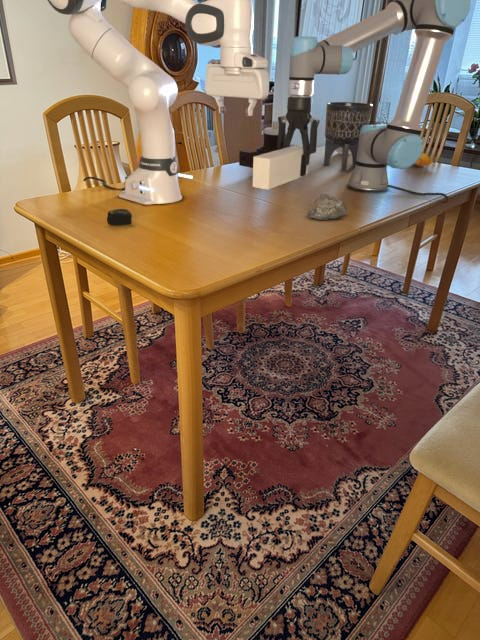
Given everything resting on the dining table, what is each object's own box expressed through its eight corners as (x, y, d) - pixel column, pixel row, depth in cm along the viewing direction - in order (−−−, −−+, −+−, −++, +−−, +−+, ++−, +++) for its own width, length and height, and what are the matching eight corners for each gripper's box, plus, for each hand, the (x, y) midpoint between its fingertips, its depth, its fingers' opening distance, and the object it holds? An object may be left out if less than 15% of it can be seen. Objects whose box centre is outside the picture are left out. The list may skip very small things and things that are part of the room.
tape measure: (107, 228, 130) (105, 215, 128) (109, 220, 136) (108, 208, 134) (131, 227, 131) (130, 214, 129) (133, 220, 137) (131, 207, 135)
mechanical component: (240, 120, 182) (283, 115, 202) (239, 174, 192) (280, 164, 212) (283, 126, 170) (325, 120, 190) (280, 183, 180) (320, 171, 200)
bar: (292, 172, 154) (294, 145, 150) (307, 174, 152) (309, 147, 147) (252, 187, 136) (253, 156, 132) (268, 189, 133) (269, 159, 129)
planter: (313, 167, 208) (319, 103, 195) (331, 160, 222) (338, 101, 209) (353, 173, 199) (362, 107, 185) (369, 166, 213) (379, 104, 199)
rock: (331, 208, 151) (334, 189, 147) (352, 215, 145) (356, 195, 142) (304, 216, 143) (306, 195, 140) (325, 223, 137) (328, 202, 134)
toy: (408, 159, 210) (402, 152, 223) (410, 173, 213) (404, 165, 225) (433, 152, 207) (426, 145, 219) (435, 165, 210) (428, 158, 222)
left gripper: (199, 59, 128) (200, 112, 135) (261, 60, 118) (258, 118, 125) (213, 59, 133) (213, 110, 140) (273, 60, 123) (270, 116, 130)
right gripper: (267, 95, 140) (264, 172, 152) (322, 98, 131) (314, 180, 143) (279, 93, 145) (275, 168, 157) (333, 97, 136) (324, 176, 148)
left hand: (235, 114), depth 133 cm, fingers open, 8 cm apart
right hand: (294, 173), depth 150 cm, fingers closed on bar, 6 cm apart
